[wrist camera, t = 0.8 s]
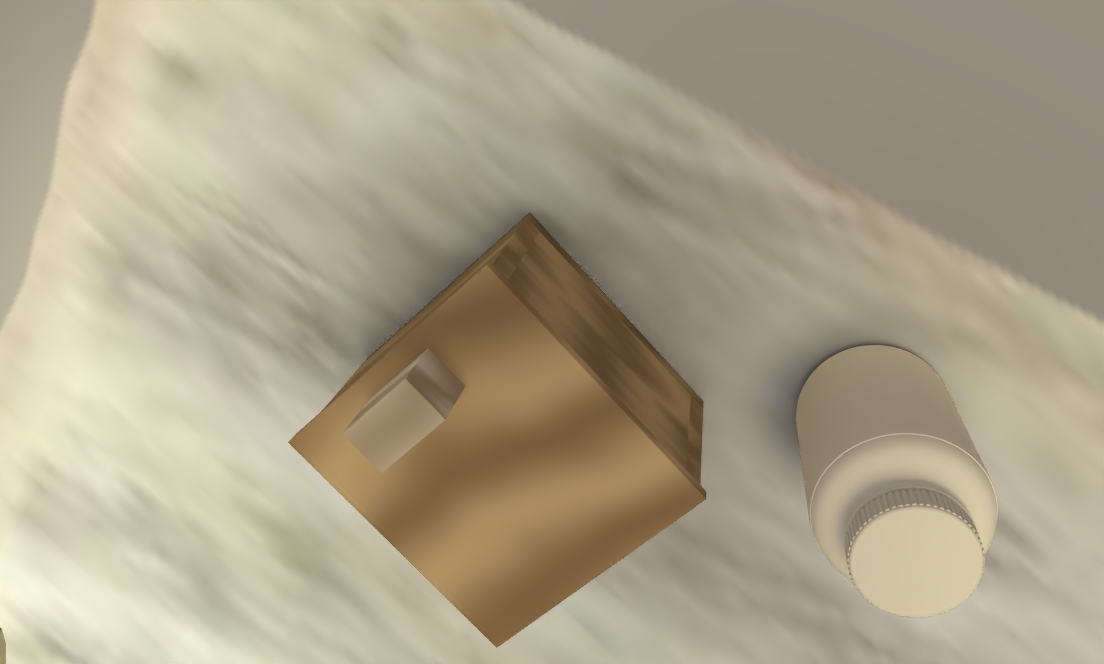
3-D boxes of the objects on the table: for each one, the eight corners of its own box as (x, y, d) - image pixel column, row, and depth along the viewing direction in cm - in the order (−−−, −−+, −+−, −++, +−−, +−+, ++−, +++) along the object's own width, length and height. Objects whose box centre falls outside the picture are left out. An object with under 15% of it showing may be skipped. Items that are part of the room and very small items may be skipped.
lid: (706, 491, 47) (704, 541, 43) (499, 638, 52) (480, 696, 48) (490, 260, 45) (467, 290, 41) (293, 435, 49) (256, 478, 45)
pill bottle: (763, 395, 56) (777, 542, 42) (892, 311, 53) (953, 439, 39) (848, 502, 57) (889, 678, 43) (978, 425, 54) (1066, 587, 41)
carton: (703, 401, 56) (700, 489, 47) (533, 529, 61) (499, 632, 52) (529, 212, 54) (490, 266, 45) (366, 359, 59) (300, 435, 49)
